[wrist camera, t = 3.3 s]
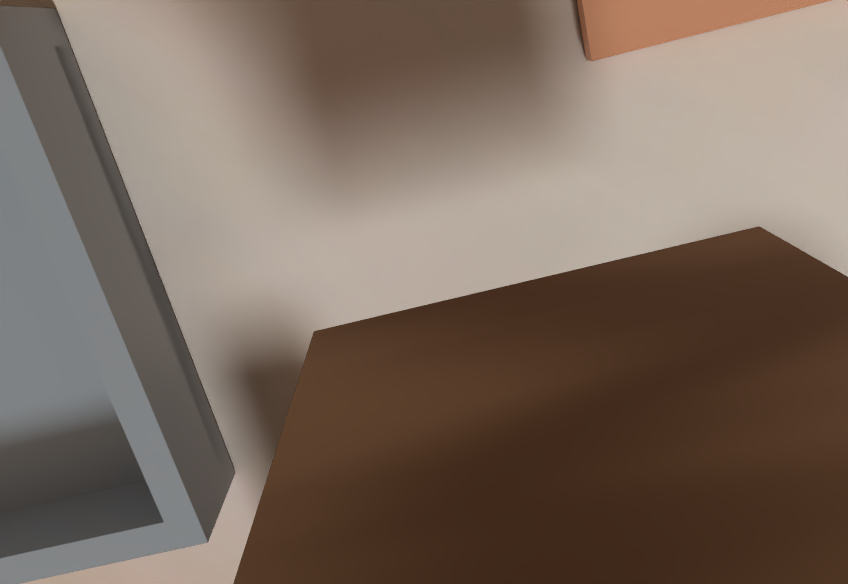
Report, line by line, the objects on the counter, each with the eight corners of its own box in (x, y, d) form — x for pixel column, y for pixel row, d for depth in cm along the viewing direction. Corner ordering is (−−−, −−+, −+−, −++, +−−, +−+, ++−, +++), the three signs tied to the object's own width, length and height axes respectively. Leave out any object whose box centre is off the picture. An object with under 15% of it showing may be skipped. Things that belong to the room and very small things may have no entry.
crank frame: (879, -122, 12) (899, -127, 11) (901, 582, 16) (915, 599, 16) (570, -40, 12) (576, -43, 12) (678, 627, 17) (686, 645, 16)
